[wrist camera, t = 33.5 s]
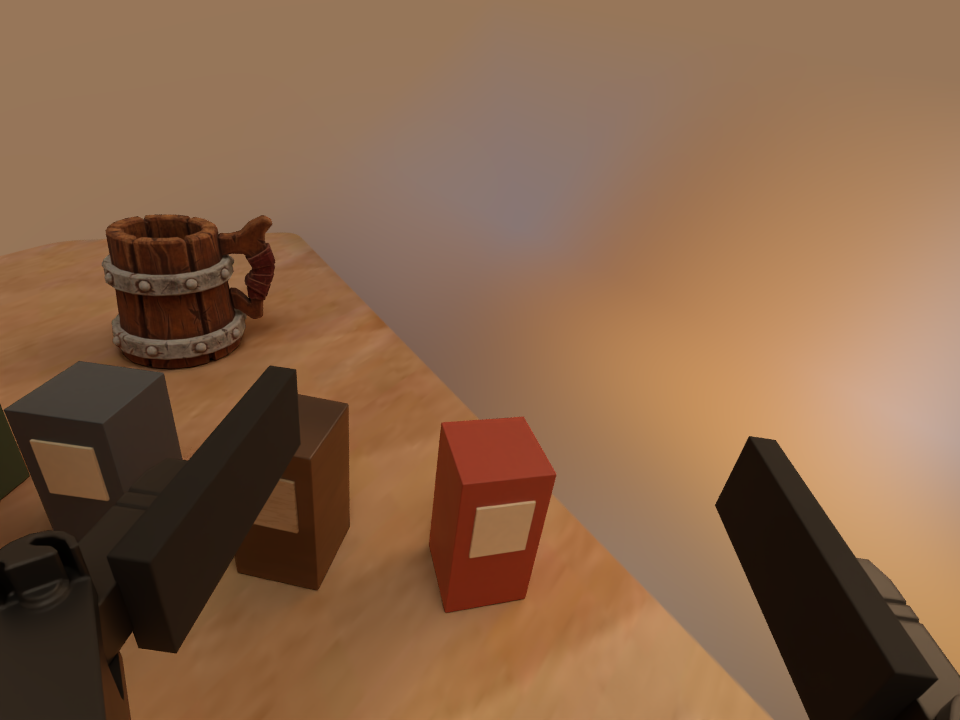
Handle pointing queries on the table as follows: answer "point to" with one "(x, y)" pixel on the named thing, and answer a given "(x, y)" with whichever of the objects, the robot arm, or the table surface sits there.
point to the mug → (183, 287)
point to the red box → (488, 510)
